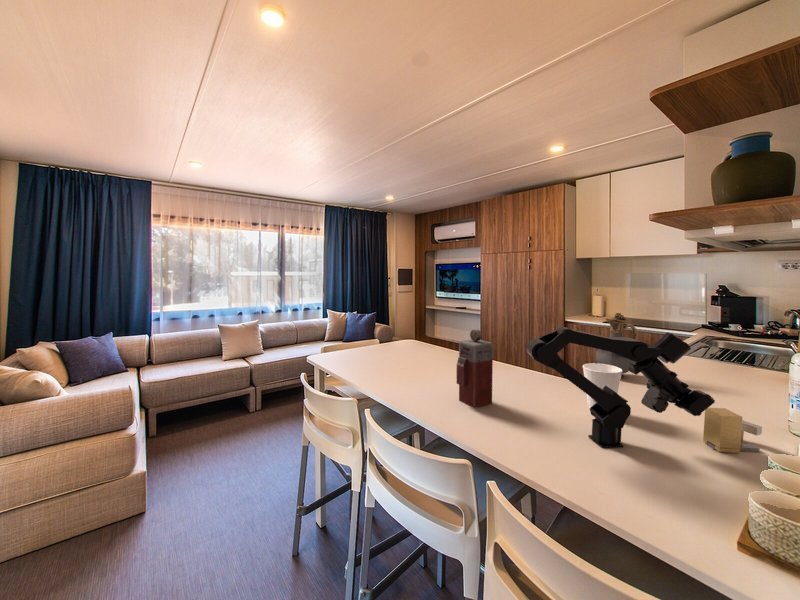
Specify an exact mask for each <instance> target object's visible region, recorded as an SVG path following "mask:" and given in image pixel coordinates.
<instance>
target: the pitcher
mask: <svg viewBox="0 0 800 600" xmlns="http://www.w3.org/2000/svg"><path fill="white" fill-rule="evenodd" d="M604 321H605V322H608V323H609V337H623V333H624V330H625V329H627V328H630V329H632V332H633V335H632V339H635V340H637V333H638V332H637V329H636V327H635V325H634V324H632V323H627V324H625V323H626V322H627V317H626V316H624V314H622V313H619V312H616V313H614V314H613V317H612V318H605V320H604ZM595 361H596V363H598V364H607V365H612V366H616V367H618V368H620V369H622V371H623V372H622V375H621V379H623V378H625V375H624V374H627V373H629V371H628V369H629V363H634V362H635V361H632V360H630V359H627V358H625V357H622V356H620V355H617V354H615V353H613V352H610V351H605V350H601V349H596V352H595Z"/></svg>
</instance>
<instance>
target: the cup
mask: <svg viewBox="0 0 800 600" xmlns="http://www.w3.org/2000/svg"><path fill="white" fill-rule="evenodd" d="M582 370H583V376H584V377H586V378H587V379H588V380H590V381H591V382H592V383H594V384H595V385H596V386H598V387H599V388H602V389H603V388H604V387H605V385H606V386H607V387H609V388H610V389H612V390H613V391H615V392H616V393H617V394H618V392H619V387H620V383H621V379H622V378H621V375H622V372H623V371H622V369H620V368H618V367H616V366H612V365H607V364H598V363H597V362H596V363H595V362H592V363H585V364H583V365H582ZM585 394H586V393H585ZM586 402H587V406H588V411H589V412H590V410H589V409H590V408H591V407H592V406H593V405H594V404H595V402H594V401H593V399H592V398H591V397H590V396H589V395H587V394H586Z"/></svg>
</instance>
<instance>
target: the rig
mask: <svg viewBox="0 0 800 600" xmlns="http://www.w3.org/2000/svg"><path fill="white" fill-rule="evenodd" d="M762 430H763V426H761V425H759V424H755V423H753V422H749V421H747V420H743V419H742V432H741V446H740V452H749V453H750V452H752V453H760V447H758V446H757V445H756V446H755V445H754V444H752V443H742V442H744V433H749V434H751V435H754V436H760V435H762V433H763V431H762ZM707 446H708V447H709V448H711V449H713V451H717V450H716V449H715V445H714V444H712V443H710V442H708V444H707Z"/></svg>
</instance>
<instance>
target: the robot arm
mask: <svg viewBox="0 0 800 600" xmlns="http://www.w3.org/2000/svg"><path fill="white" fill-rule="evenodd" d="M569 344H574V345H578V346H583V347H588V348H591V349H596V350H597V349H601V350H605V351H610V352H613V353H615V354H617V355H620V356H622V357H625V358H627V359H630V360H632V361H635V362H634V363H629V369H628V372H630V373H632V374H634V375H638V374H640V373H641V374H642V375H643V377H645V378H646V379H647V383H646V388H647V390H646V392H645V394H644V396H643V397H642V398H641V402H640V403H641V404H642V405H643V406H645V407H646V408H648V409H649V410H651V411H654V412H656V413H659V414H661V413H663V412H665V411H666V410H667V408H668V406H669V403H670V404H674V406H675V407H677V408H678V409H681V410H682V409H683V410H684V411H685V412H686V413H688V414H690V415H692V416H694V417H696V416H698V417H701V415H702V413H703V412H705V410H706V409H707V408H711V406H712V405H713V404H715V403H716V400H715V399H714V397H712V396H711V395H710V394H708V393H706V392H704V391H702V390H699V389H695V390H694V389H693V390H692V389H690V388H688V387H689V384H688V383H687V382H684V381H682V380H681V379H679V378H678V374H677V373H676V372H675V371H673V370H670V368H668V367H667V366H666V365H665V364H668V363H670V364H676V363H677V362H678V361H680V359H681V358H682V357H684V356H685V355H686V354H688V353H689V352H690V351H692V347H691V346H690V344H689V343H687V342H686V341H683V340H682V339H681V338H679V337H677V336H676V335H674V334H673V333H671V332H666V333H664V334H663V335H662V336H661V337H660V338H659V340H657V341H656V342H654V343H653V344H650V343H647V342H643V341H641V340H638V339H633V337H627V336H626V337H624V336H622V337H610V336H608V337H607V336H604V335H600V334H594V333H590V332H585V331H580V330H577V329H576V330H575V329H571V328H568V327H565V326H561V327H559V328H557V329H555V330H554V331H551V332H549V333H546V334H544V335H542V336H540V337H539V338H532V339H531V340H529V341H528V342H527V344H526V349H525V350H526V352H527V354H528V355H529V356H530V357H531V358H532V359H534V360H535V361H536V362H538V363H539V364H542V365H544V366H545V367H548V368H550V369H552V370H554V371H556V372H557V373H558V374H560V376H562V377H564V378H565V379H566V380H568V382H570V383H572V384H573V385H574V386H576V387H577V388H578V389H579V390H581V391H582V392H583V393H584V394H587V395H589V396H590V397H591V398H592V399H593V401H594V402H595V404H594V405H593V406H592V407H591V408H590V409H589V408H588V411H589V410H590V411H589V413H590V415H591V416H592V417H594V418H593V419H592V420H591V421H592V424H591V434H588V436H587V437H588V438H589V440H592V441H593V442H594V443H595V444H597V445H598V446H599V447H600V448H605V449H606V448H609V449H610V448H623V447H624V444H623V443H622V429H623V428H624V426H625V424H626V421H627V419H628V418H630V417H631V413H632V408H631V406H630V405H629V404H628V403H629V400H627V399H626V398H624V397H623V396H621V395H620V394H618V393H616V392H615V391H613V390H612V389H610V388H609V387H607V386H606V385H605V387H604V388H603V389H602V388H599V387H598V386H596V385H595V384H594V383H592V382H591V381H590V380H588V379H587V378H586V377H584V374H581V373H580V372H579V371H578V370H576V369H575V368H574V367H573V366H571V365H570V364H569V363H567V362H566V361H565V360H564V359H563V358H562V357H561V356H560V355H559V354H558V353H560V352H561V351H562V350H563V349H564V348H565V347H566V346H567V345H569ZM664 363H665V364H664ZM587 395H586V396H587Z"/></svg>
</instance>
